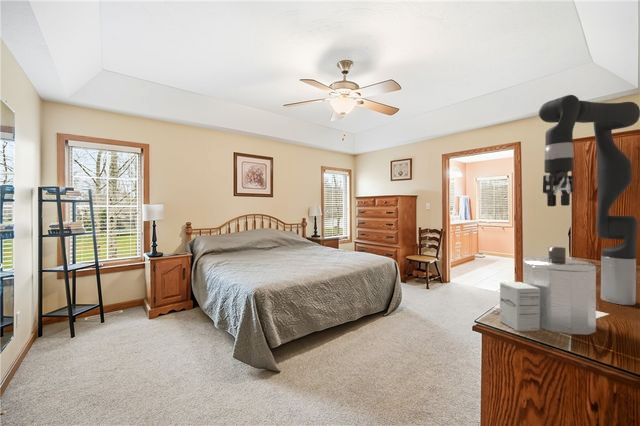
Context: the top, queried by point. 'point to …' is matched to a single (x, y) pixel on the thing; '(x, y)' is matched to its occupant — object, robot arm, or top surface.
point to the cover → (563, 292)
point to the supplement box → (520, 306)
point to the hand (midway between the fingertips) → (558, 205)
